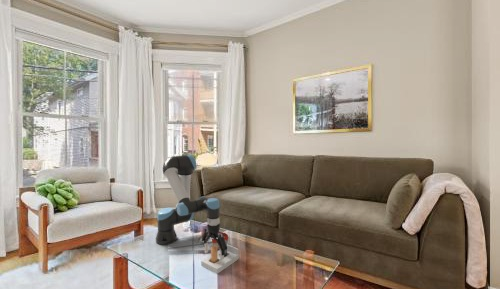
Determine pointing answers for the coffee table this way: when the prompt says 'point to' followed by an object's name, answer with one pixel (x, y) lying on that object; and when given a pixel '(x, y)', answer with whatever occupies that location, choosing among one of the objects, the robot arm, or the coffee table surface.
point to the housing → (221, 265)
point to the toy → (216, 241)
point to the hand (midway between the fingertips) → (214, 256)
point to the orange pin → (214, 254)
